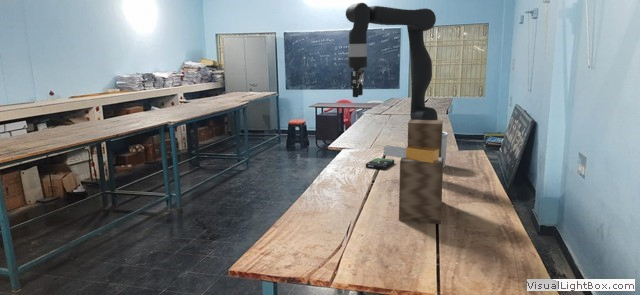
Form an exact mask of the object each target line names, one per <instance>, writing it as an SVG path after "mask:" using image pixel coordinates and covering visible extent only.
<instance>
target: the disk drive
mask: <svg viewBox="0 0 640 295" xmlns="http://www.w3.org/2000/svg"><path fill="white" fill-rule="evenodd" d="M394 164H395V159H392V158H381V157H380V158H379V157H377V158H374V159H372V160H371V161H368V162H366V163H365V168H366V169H371V170H378V171H379V170H380V171H385V170H387V169H389V167H391V166H393V165H394Z"/></svg>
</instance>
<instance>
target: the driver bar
mask: <svg viewBox="0 0 640 295" xmlns="http://www.w3.org/2000/svg"><path fill="white" fill-rule="evenodd" d="M383 156H387V157H393V158H400V159H401V158H406V159H410V160H416V161H423V162H430V163H435V162H437V161H439V149H436V148H428V147H420V146H412V145H411V146H409V147H408V146H407V147H403V146H402V147H401V146H394V145H386V146H383Z"/></svg>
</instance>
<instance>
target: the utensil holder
mask: <svg viewBox="0 0 640 295" xmlns="http://www.w3.org/2000/svg"><path fill="white" fill-rule="evenodd" d="M448 135H449V133H448V132H446V131H443V130H442V150H441V157H442V158H444V160H443V169H444V168H445V167H446V159H447V146H448V145H447V143H448V142H447V141H448Z"/></svg>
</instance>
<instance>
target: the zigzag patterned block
mask: <svg viewBox="0 0 640 295" xmlns="http://www.w3.org/2000/svg"><path fill="white" fill-rule="evenodd" d="M443 122H444V121H443V120H442V119H441V120H439V119H438V120H411V119H409V121H408V123H407V147H409V146H411V145H412V146H420V147H428V148H436V149H439V161H437V162H435V163H430V162H423V161H416V160H410V159H406V158H400V160H399V189H398V190H399V194H398V198H399V199H398V204H399V205H398V221H402V222H405V221H406V222H412V221H413V223H414V222H415V223H422V224H423V223H425V224H434V225H435V224H437V225H441V221H442V205H443V204H442V203H443V179H444V168H443V160H444V158H442V157H441V150H442V131H443V127H444V126H443Z"/></svg>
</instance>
